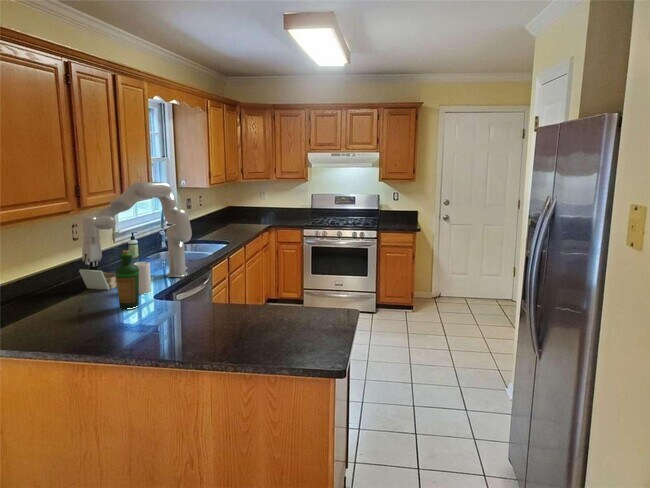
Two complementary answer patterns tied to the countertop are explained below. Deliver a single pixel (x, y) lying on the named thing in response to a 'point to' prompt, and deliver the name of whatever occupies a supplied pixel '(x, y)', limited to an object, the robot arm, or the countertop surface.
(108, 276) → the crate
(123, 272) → the bottle
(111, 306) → the countertop surface
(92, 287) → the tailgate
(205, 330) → the countertop surface
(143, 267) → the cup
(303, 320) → the countertop surface
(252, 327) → the countertop surface
